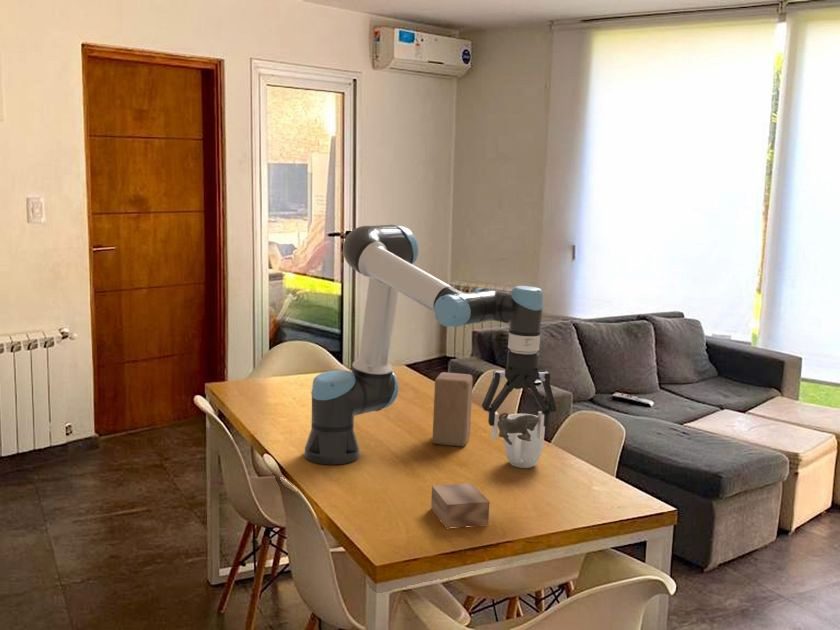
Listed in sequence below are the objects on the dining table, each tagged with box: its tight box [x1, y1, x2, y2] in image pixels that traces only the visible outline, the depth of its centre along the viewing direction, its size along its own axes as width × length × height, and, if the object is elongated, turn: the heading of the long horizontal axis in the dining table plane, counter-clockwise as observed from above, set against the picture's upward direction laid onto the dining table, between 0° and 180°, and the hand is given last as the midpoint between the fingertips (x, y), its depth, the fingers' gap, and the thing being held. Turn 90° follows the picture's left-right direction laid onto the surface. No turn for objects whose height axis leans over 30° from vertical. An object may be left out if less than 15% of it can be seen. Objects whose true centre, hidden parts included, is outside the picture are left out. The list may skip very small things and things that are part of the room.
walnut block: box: [430, 482, 490, 529], centre depth 199 cm, size 10×12×6 cm
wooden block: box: [431, 371, 474, 447], centre depth 255 cm, size 10×10×20 cm
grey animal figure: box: [497, 412, 538, 445], centre depth 209 cm, size 12×6×7 cm, turn 118°
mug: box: [503, 413, 546, 469], centre depth 235 cm, size 15×11×13 cm
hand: (516, 438), depth 210 cm, fingers closed on grey animal figure, 11 cm apart
